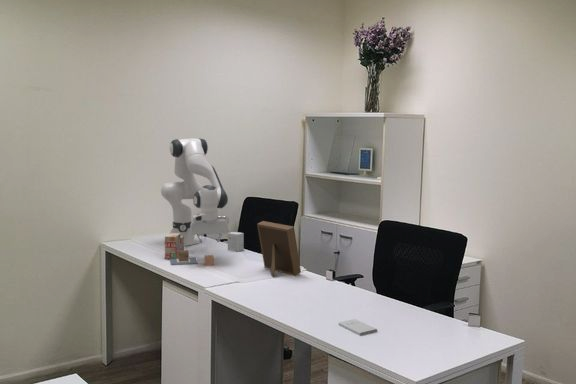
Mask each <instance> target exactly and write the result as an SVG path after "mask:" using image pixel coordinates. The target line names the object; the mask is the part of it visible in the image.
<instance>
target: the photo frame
mask: <svg viewBox="0 0 576 384" xmlns="http://www.w3.org/2000/svg"><path fill="white" fill-rule="evenodd" d="M256 226H257V231H258V238H259V242H260V249H261V254H262V255H261V256H262V259H263V261H262V262H263V266H264V267H263V268H265V269H269V270H270V276H271V277H272V278H274V276H275V271H277V272H279V273H284V274H288V275H292V276H298V274H300V273H302V271H301V263H300V257H299V250H298V244H297V237H296V232H295V231H296V230H295V226H293V225H287V224H282V223H278V222H277V223H275V222H271V221H266V220H262V221H260V222H258V223H257V224H256Z"/></svg>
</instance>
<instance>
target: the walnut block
mask: <svg viewBox="0 0 576 384" xmlns="http://www.w3.org/2000/svg"><path fill="white" fill-rule="evenodd" d="M189 255H190V253H189V250H188V249H186V250H185V249H184V250H179V256H178V258H179V262H182V261H189Z"/></svg>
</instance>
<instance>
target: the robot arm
mask: <svg viewBox="0 0 576 384" xmlns="http://www.w3.org/2000/svg"><path fill="white" fill-rule="evenodd" d="M208 148H209V146H208V143H207V140H206V139H204V138H196V137H195V138H193V137H191V138H181V139H178V138H177V139H176V138H175V139H173V140H171V142H170V143H169V151H170V154H171V156H172V157H173V158H174V175H175V176H176V177H178V178H180V179H182V181H170V182H164V183H163V184H162V185H161V188H160V194H161V196H162V197H163V199H165V200H166V201H167V202H168V203H169V204H170V206H171V207H172V217H173V219H172V220H173V221H172V229H171V230H170V232H169V233H180V235H181V236H184V247H185V246H192V245H195V244H196V245H197V244H198V243H199V244H202V243H203V239H202V238H200V236H201V235H218V238H216V242H217V243H220V242H221V238H222V236H223V234H226V235H228V233H230V232H229V223H230V218H229V217H228V216H226V215H223V216H221V215H219V209H223V208H225V206H226V205H227V204H228V201H229V198H228V197H229V196H228V195H227V193H226V190H225V189H224V187H223V185H222V183H221V181H220V178H219V176H218V173H217V171H216V169H215V167H214V166H213V165H211V164H210V163H209V162H208V160H207V157H206V155H207V153H208V151H209V149H208ZM195 175H197V176H200V177H203V178H206V179H208V180H209V182H210V184H211V185H210V184H209V185H206V184H205V185H202V183H200V182H199V181H198V180H197V178H195ZM182 200H193V205H194V206H195V207H196V208H197V209H200V212H199V213H196V214H194V215H192V208H191V207H190V206H189V205H186V204H184V203H183V202H182ZM195 235H196V237H197V239H198V241H197V240H196V239H195V238H196V237H195Z"/></svg>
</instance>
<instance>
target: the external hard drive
mask: <svg viewBox="0 0 576 384" xmlns="http://www.w3.org/2000/svg"><path fill="white" fill-rule="evenodd" d="M338 326H340V327H341V328H344V329H345V330H347V331H350V332H352V333H354V334H355V335H358V336H359V337H360V336H365V335H369V334H372V333H377V332H378V328H375V327H374V326H372V325H369V324H366V323H364V322H363V321H360V320H357V319H355V318H354V319H353V318H352V319H349V320H344V321H339V322H338Z"/></svg>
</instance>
